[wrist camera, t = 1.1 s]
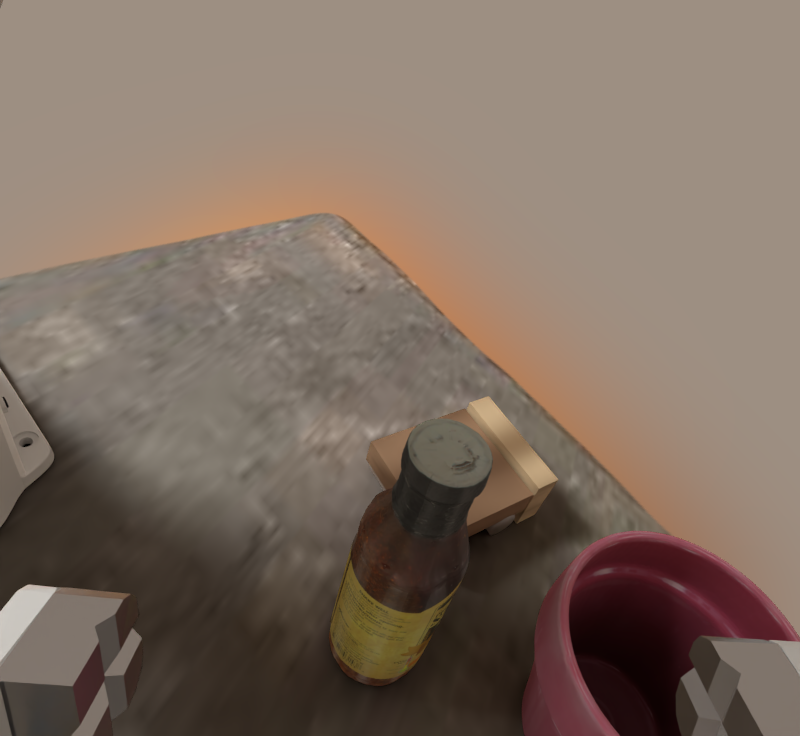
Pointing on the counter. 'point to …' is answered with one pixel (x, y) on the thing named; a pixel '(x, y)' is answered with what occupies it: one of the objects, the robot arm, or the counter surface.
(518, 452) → the roller board
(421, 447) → the sauce bottle
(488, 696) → the counter surface
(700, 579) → the plant pot
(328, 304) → the counter surface
